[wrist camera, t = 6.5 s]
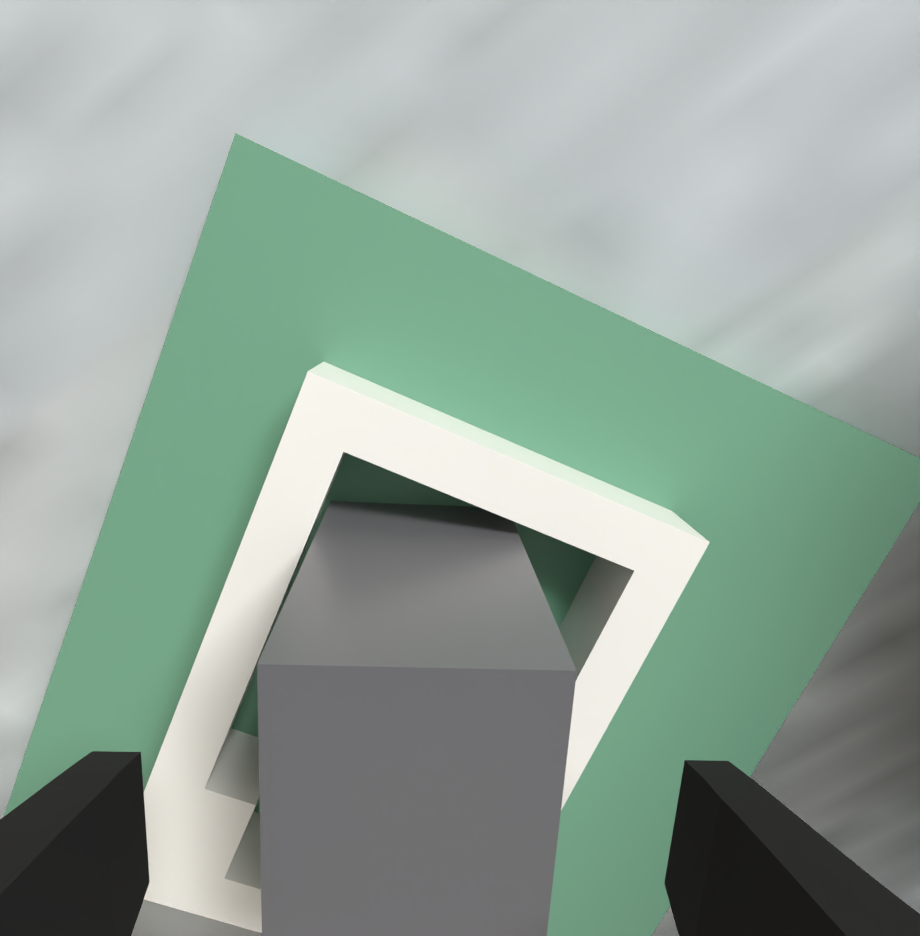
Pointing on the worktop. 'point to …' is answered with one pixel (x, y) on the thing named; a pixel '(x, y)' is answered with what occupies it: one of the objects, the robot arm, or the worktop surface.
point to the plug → (412, 731)
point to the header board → (453, 484)
